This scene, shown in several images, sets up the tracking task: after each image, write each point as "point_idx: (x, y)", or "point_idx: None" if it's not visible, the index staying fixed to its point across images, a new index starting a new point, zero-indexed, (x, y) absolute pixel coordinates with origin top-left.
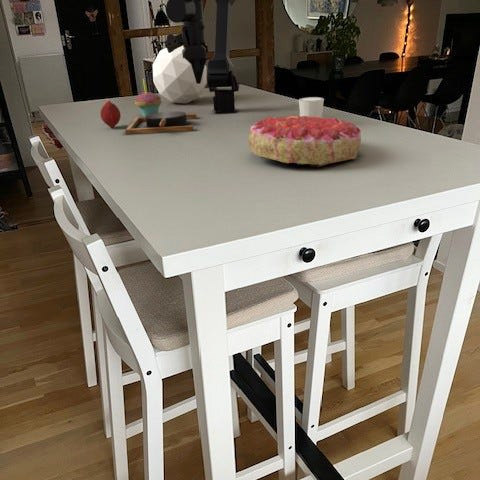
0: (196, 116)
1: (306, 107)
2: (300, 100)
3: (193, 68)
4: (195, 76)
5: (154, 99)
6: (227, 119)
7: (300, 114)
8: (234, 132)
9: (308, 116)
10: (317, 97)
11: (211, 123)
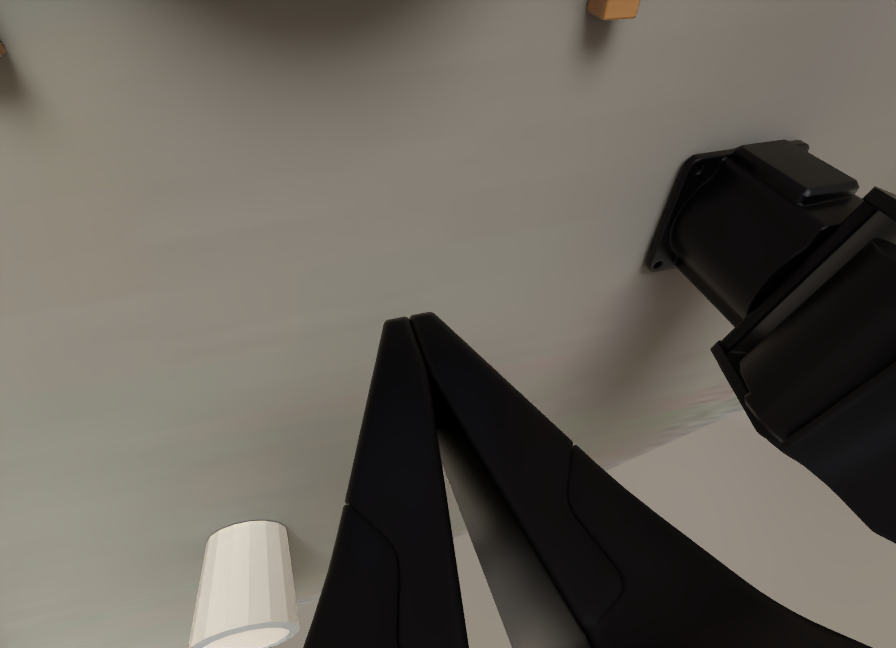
0: (595, 15)
1: (193, 622)
2: (212, 637)
3: (322, 606)
4: (365, 419)
5: None
6: (460, 259)
7: (224, 572)
8: (18, 371)
9: (199, 586)
10: (283, 639)
11: (337, 180)
